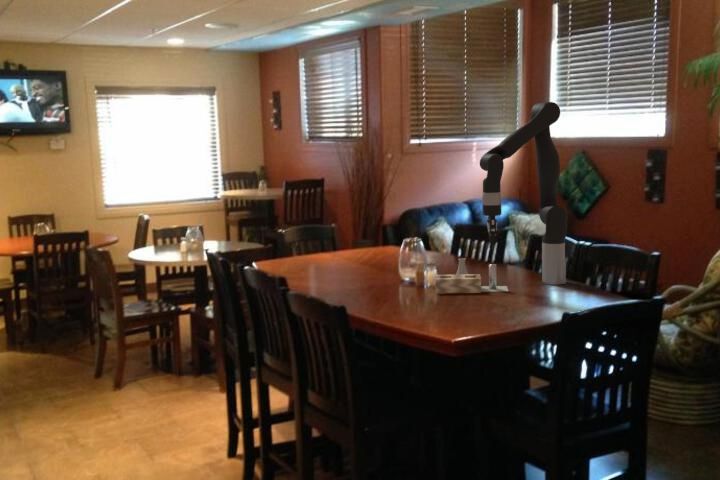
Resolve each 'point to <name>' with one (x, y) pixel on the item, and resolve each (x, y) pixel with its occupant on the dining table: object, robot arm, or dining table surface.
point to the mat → (499, 288)
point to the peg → (492, 276)
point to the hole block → (458, 283)
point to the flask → (462, 266)
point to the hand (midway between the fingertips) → (492, 243)
